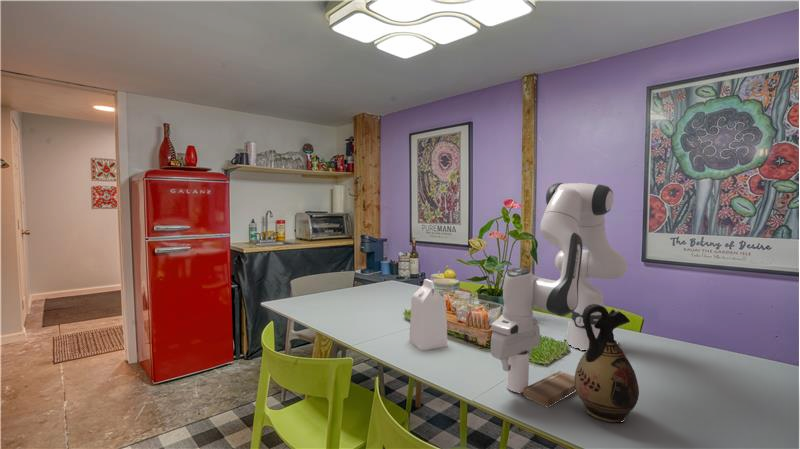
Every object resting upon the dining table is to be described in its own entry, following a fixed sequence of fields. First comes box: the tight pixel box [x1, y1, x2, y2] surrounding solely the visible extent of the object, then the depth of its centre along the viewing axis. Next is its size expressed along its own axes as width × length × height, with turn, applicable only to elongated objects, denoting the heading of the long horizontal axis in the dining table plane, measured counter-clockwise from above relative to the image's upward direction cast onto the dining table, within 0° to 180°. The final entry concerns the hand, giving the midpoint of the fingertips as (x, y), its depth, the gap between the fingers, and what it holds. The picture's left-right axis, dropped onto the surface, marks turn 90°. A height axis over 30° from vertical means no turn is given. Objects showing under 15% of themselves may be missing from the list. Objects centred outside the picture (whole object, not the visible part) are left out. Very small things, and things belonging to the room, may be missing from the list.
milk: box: [408, 278, 448, 351], centre depth 154 cm, size 12×12×26 cm
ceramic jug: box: [574, 304, 640, 423], centre depth 103 cm, size 17×15×30 cm
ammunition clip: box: [463, 312, 491, 344], centre depth 155 cm, size 11×2×12 cm, turn 55°
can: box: [505, 351, 530, 394], centre depth 117 cm, size 6×6×12 cm
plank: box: [522, 370, 576, 408], centre depth 116 cm, size 20×8×2 cm, turn 127°
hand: (516, 366), depth 116 cm, fingers open, 8 cm apart
